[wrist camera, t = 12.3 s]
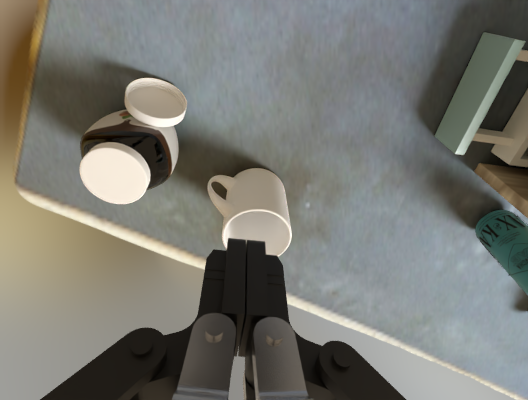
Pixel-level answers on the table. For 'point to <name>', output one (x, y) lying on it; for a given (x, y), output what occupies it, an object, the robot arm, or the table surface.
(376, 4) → the table surface
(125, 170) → the spread jar
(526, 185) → the open wooden box
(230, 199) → the mug
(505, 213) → the beverage bottle
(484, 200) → the table surface
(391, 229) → the table surface
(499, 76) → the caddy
